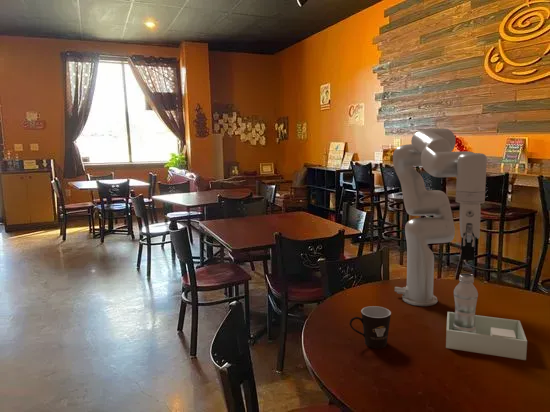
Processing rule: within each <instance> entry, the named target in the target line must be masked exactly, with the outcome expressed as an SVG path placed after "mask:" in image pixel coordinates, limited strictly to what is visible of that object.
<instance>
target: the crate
mask: <svg viewBox="0 0 550 412" xmlns="http://www.w3.org/2000/svg"><path fill="white" fill-rule="evenodd" d="M446 312H447V316H446V331H445V332H446V333H445V335H446V336H445V348H446V349H451V350H457V351H464V352H470V353H476V354H481V355H489V356H494V357H495V356H497V357H503V358H509V359H515V360H521V361H527V353H528V352H527V350H528V340H527V337H526V334H525V331H524V329H523V325H522V323H521V320H518V319H509V318H501V317H495V316H494V317H493V316H485V315H479V314H478V315H477V314H475V323H476V329H477V333H470V332H463V331H455V330H452V329H453V324H454V319H455V311H454V312H453V311H446ZM491 327H492V328H500V329H508V330H514V332H515V336H516V339H513V338H506V337H499V336H492V335H490V331H491Z"/></svg>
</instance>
